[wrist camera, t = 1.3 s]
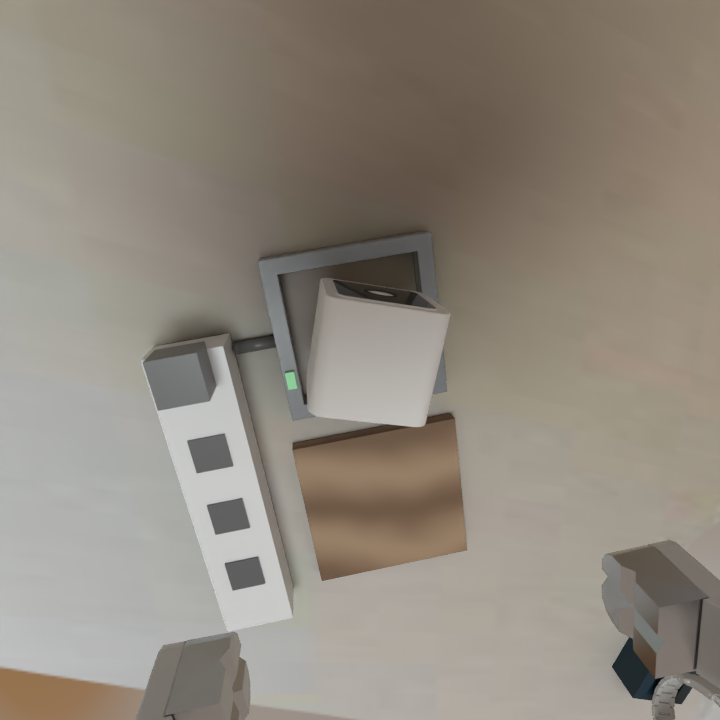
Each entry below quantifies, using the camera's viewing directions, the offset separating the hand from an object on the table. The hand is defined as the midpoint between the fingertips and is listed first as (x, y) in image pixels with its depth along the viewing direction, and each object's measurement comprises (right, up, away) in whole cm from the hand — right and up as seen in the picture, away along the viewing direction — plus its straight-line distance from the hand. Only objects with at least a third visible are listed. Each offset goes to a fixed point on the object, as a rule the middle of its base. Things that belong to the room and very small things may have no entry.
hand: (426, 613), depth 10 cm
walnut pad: (0, -5, +27) cm, 28 cm away
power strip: (-9, -3, +25) cm, 27 cm away
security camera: (-2, +8, +23) cm, 24 cm away
